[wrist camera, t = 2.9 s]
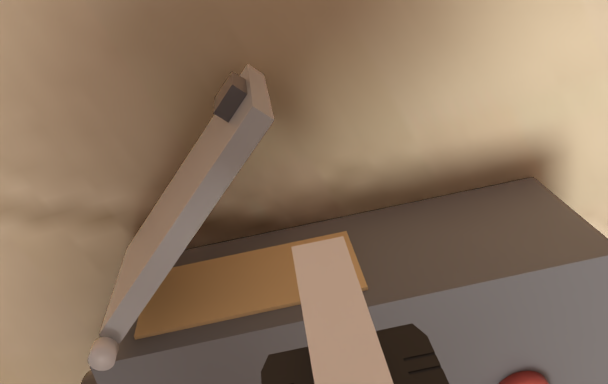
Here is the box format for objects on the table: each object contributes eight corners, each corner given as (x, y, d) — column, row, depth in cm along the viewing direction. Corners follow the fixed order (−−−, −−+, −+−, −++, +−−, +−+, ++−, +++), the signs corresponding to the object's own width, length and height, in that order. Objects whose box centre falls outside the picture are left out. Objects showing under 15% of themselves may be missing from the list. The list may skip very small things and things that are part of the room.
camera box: (135, 423, 31) (108, 569, 24) (63, 252, 26) (2, 372, 19) (532, 337, 32) (617, 453, 25) (533, 155, 27) (640, 236, 20)
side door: (142, 256, 26) (119, 343, 20) (114, 242, 25) (82, 328, 20) (264, 74, 23) (274, 119, 18) (234, 55, 22) (235, 95, 17)
